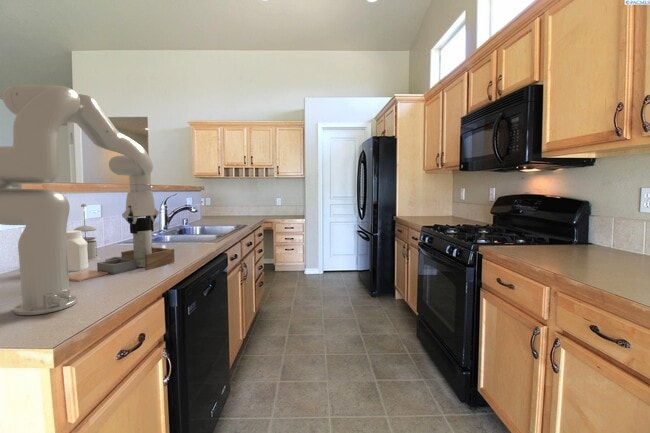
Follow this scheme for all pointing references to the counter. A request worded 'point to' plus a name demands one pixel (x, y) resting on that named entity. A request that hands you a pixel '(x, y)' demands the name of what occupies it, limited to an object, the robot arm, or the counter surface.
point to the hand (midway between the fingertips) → (142, 231)
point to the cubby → (153, 257)
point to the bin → (116, 266)
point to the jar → (76, 251)
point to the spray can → (142, 241)
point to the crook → (112, 258)
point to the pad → (86, 275)
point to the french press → (90, 244)
